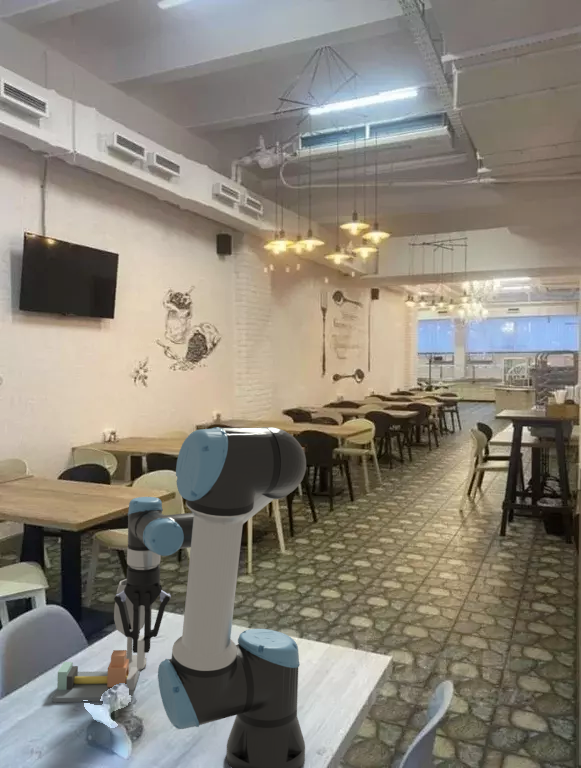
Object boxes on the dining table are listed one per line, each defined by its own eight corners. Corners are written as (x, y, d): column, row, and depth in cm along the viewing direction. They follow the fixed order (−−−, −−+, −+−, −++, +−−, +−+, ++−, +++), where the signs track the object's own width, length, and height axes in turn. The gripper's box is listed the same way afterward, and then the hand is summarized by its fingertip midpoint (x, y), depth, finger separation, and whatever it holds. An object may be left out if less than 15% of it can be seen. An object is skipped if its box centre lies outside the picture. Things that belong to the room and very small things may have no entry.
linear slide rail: (131, 701, 138) (131, 678, 138) (52, 702, 137) (53, 679, 137) (139, 675, 150) (140, 654, 150) (67, 676, 149) (67, 655, 149)
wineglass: (151, 659, 159) (154, 577, 158) (140, 675, 150) (142, 589, 150) (118, 656, 160) (121, 575, 159) (105, 673, 151) (107, 586, 151)
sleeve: (125, 687, 142) (125, 657, 142) (107, 687, 142) (108, 657, 141) (128, 677, 146) (129, 648, 146) (111, 677, 146) (112, 648, 146)
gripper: (173, 560, 148) (171, 658, 149) (118, 559, 147) (115, 658, 148) (170, 570, 141) (167, 673, 141) (111, 569, 140) (109, 673, 140)
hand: (141, 665), depth 145 cm, fingers closed
